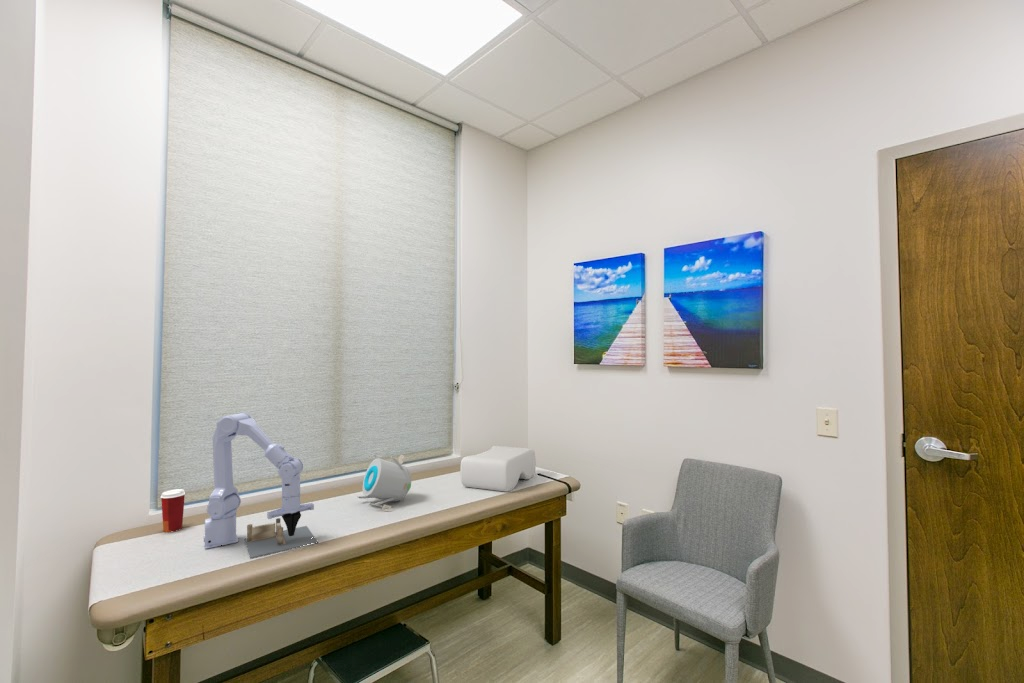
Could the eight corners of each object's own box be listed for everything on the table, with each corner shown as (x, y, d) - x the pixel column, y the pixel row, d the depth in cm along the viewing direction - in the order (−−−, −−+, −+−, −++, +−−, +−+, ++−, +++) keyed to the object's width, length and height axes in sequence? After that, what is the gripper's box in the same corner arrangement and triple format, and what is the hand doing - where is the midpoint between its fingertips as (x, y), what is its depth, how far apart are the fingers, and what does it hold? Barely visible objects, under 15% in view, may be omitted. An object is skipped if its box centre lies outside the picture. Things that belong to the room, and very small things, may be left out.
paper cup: (189, 525, 175) (189, 488, 176) (178, 532, 168) (178, 493, 168) (166, 526, 174) (167, 489, 175) (154, 534, 167) (155, 495, 167)
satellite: (428, 462, 199) (404, 457, 219) (387, 450, 189) (365, 446, 208) (411, 516, 192) (388, 506, 211) (368, 507, 181) (347, 497, 201)
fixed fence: (247, 542, 156) (247, 526, 157) (246, 540, 158) (246, 524, 158) (275, 536, 161) (275, 520, 161) (274, 534, 163) (274, 519, 163)
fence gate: (275, 533, 163) (275, 518, 163) (280, 532, 164) (280, 517, 164) (278, 544, 153) (278, 528, 153) (283, 543, 154) (283, 527, 154)
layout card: (250, 558, 144) (250, 557, 144) (244, 539, 160) (244, 538, 160) (318, 543, 156) (318, 541, 156) (306, 526, 171) (306, 525, 171)
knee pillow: (506, 494, 208) (506, 461, 208) (459, 488, 218) (459, 457, 219) (536, 476, 239) (535, 447, 240) (493, 471, 250) (493, 444, 250)
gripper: (270, 502, 151) (270, 544, 150) (316, 493, 160) (316, 532, 160) (265, 497, 156) (265, 538, 156) (310, 489, 165) (310, 527, 165)
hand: (291, 535), depth 158 cm, fingers closed
